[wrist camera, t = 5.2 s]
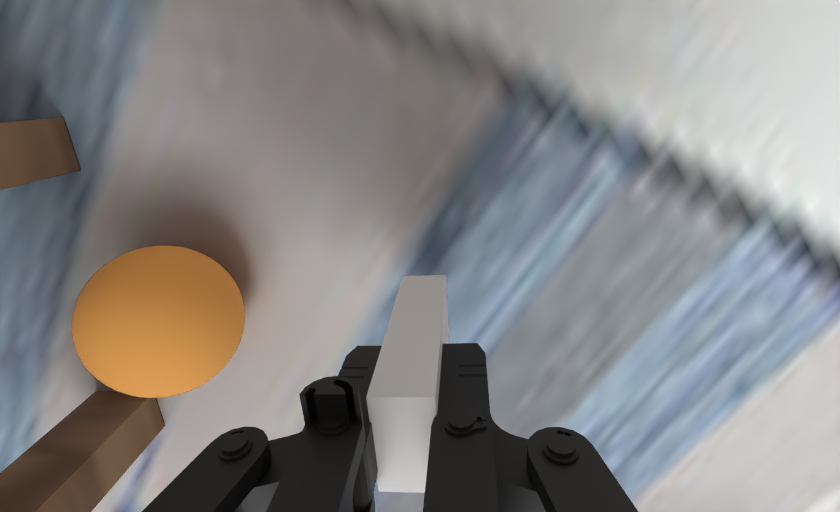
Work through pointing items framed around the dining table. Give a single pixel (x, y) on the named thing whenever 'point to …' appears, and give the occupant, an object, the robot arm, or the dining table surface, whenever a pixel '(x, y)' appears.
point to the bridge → (99, 414)
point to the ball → (158, 321)
